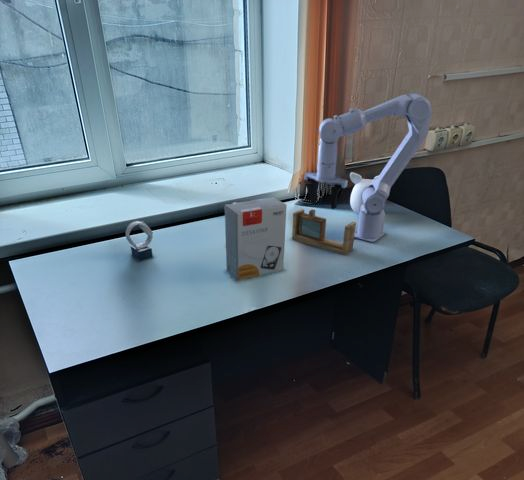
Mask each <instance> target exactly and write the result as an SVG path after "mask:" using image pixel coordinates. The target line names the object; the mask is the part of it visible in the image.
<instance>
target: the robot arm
mask: <svg viewBox="0 0 524 480" xmlns="http://www.w3.org/2000/svg"><path fill="white" fill-rule="evenodd" d="M393 115H396V116H399V117H402V118H406V121H407V127H408V133H406V135H405V137H404V138H403V140H402V141H401V143H400V144H399V145H398V147H397V149H396V150H395V151H394V153H393V154H392V156H391V157H390V159H389V160H388V162H387V163H386V165H384V168H382V171H381V172H380V173H379V176H378V175H377V176H378V178H376V179H375V180H373V181H372V183H371V184H370V185H369V186H367V187H366V188H365V189H364V190H363V191H362V193H361V200H362V201H363V205H362V206H361V208H360V214H358V223H357V230H356V231H355V235H354V239H358V240H363V241H366V242H369V243H375V242H376V241H377V240H379V239H380V238H381V237H383V236H384V235H385V234H386V232H385V231H384V226H385V220H386V212H385V210H384V208H385V205H386V201H387V199H388V198H389V196H390V192H391V188H392V187H393V185H394V184H395V182H397V180H398V178H399V176H401V174H402V172H403V171H404V169H405V168H406V166H407V165H408V164H409V162H410V161H411V160H412V158H413V157H414V156H415V154H416V153H417V151H418V150H419V149H420V147H421V146H422V144H423V143H424V141H425V140H426V139H427V137H428V135H429V130H430V123H431V119H432V116H433V109H432V105H431V102H430V100H429V99H428V98H427V97H424V96H422V94H420V93H419V92H417V91H412V92H409V93H407V94H401V95H399V96H397V97H395V98H392V99H389V100H387V101H384V102H383V103H380V104H377V105H376V106H373V107H370V108H369V109H366V110H361V109H359V108H356V109H355V108H354V107H352V108H349V111H347V112H345V113H343V114H340V115H337V114H336V115H333V118H331V117H329V118H325V119H323V120H322V122H320V125H319V128H318V133H319V135H320V137H319V140H318V142H319V145H318V153H317V167H316V172H311V171H307V172H305V173H304V177H303V178H304V179H303V180H306V181H305V182H304V185H305V187H306V189H307V191H308V194H309V195H308V196H309V200H310V204H312V205H314V204H316V203H317V198H318V189H319V185H320V183H323V184H328V185H332V187H331V188H330V192H331V204H330V208H331V210H334V209H336V208H337V206H338V204H339V200H340V197H342V194H343V192H344V191H345V189H346V188H347V187H348V182H349V180H348V179H344V178H341V177H339V176H337V175H336V171H337V161H338V160H337V159H338V148H339V147H338V143H339V142H338V141H339V140H340V137H344V136H348V135H350V134H353V133H356V132H359V131H361V130H363V129H364V128H365V126H366V125H367V124H368V123H371V122H374V121H377V120H380V119H383V118H386V117H390V116H393Z"/></svg>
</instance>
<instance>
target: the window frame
mask: <svg viewBox="0 0 524 480" xmlns="http://www.w3.org/2000/svg"><path fill="white" fill-rule="evenodd" d="M300 215H304V216H308V217H309V213H306V212H305V209H304V208H301V209H298V210H296V211H295V212H293V213H292V229H291V230H292V232H291V240H292V241H295V242H299V243H302V244H306V245H308V246H313V247H316V248H320V249H323V250H325V251H326V250H327V251H330V252H333V253H337V254H341V255H343V256H346V255H348V254H349V253H350V252H351V251H353V249H354V242H355V238H354V235H355V233H356V225H357V222H356V221H355V222H354V221H352V222H350V223H348V224H347V225H345V226H344V233H343V240H342V242H339V241H336V240H333V239H328V238H326V228H327V227H326V226H327V218H326V217H321V216H318V215H315V219H319V220H323V221H324V229H323V241H319V240H315V239H312V238H308V237H305V236H301V235H299V219H300Z"/></svg>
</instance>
